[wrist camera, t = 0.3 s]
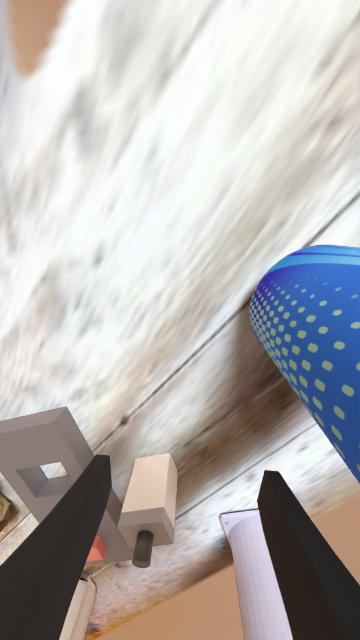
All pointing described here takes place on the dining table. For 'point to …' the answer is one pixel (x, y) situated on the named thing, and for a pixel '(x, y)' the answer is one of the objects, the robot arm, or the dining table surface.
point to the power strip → (43, 494)
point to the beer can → (317, 337)
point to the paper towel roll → (79, 611)
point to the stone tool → (4, 511)
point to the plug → (149, 506)
